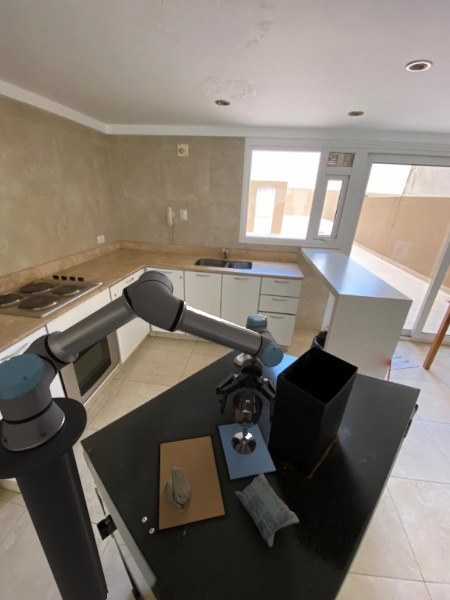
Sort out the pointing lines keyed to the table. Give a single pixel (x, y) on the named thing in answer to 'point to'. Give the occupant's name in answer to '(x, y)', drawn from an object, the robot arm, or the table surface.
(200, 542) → the table surface
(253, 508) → the packaged food
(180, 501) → the grey stone figurine
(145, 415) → the table surface
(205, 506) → the mat brown
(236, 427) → the mat blue
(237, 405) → the wine glass
